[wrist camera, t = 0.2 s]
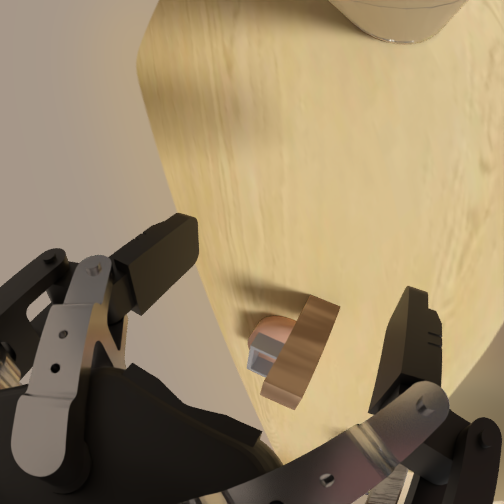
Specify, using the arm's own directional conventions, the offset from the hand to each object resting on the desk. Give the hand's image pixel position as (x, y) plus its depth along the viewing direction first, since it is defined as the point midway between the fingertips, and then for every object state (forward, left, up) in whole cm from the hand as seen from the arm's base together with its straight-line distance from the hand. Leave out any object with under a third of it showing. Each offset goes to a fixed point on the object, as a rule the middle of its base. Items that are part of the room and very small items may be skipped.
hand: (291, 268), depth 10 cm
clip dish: (+30, -2, -18) cm, 35 cm away
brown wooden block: (+21, +1, -18) cm, 28 cm away
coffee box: (+52, +30, -18) cm, 63 cm away
